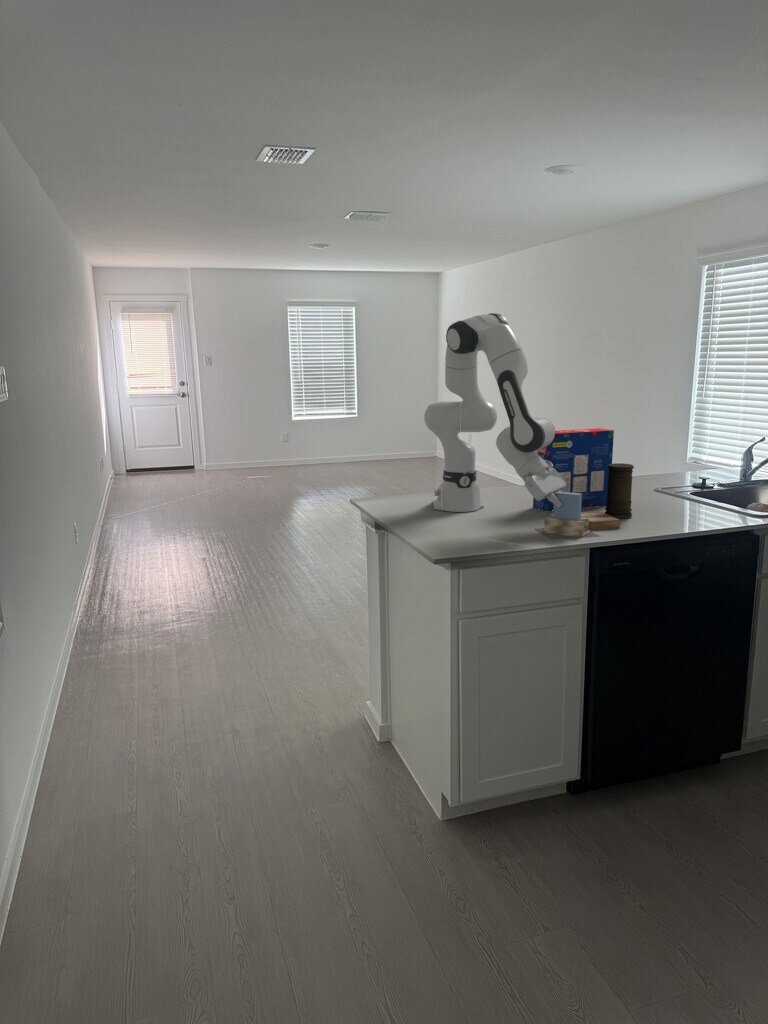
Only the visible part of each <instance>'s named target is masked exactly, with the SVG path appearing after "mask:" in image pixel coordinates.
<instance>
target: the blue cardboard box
mask: <svg viewBox="0 0 768 1024" xmlns="http://www.w3.org/2000/svg"><path fill="white" fill-rule="evenodd" d="M614 435H615V429H608V428H600V427H598V428H581V429H567V430H566V429H564V430H563V429H561V430H555V437H554V439H553V441H552V442H551V443H550V444H549V445H548V446H546V447H544V448H543V449H541V450H539V451H538V455H539V456H540V457H541V458H542V459H544V460H546V461H550V462H551V463H552V464H553V467H552V468H554V469H555V470H556V471H557V472H558V473H559V474H560V476H561V477H562V478H563V480H564V481H565V483H566V487H565V488H564V489H563V490H561V492H568V493H580V494H582V503H581V509H584V508H583V507H590V508H596V506H600V507H606V503H607V502H606V500H607V490H608V476H609V468H608V465H609V464H613V455H614V454H613V453H614ZM532 497H533V496H532ZM532 500H533V501H532V509H535V508H536V510H538V509H540V510H539V511H541V510H543V511H542V512H544V511H551V512H553V511H552V510H553V506H554V503H552V502H551V501H549V500H548V499H547V498H545V499H542V500H540V501H537V500H536V499H535V498H534V497H533V498H532Z"/></svg>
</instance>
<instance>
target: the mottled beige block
mask: <svg viewBox="0 0 768 1024" xmlns="http://www.w3.org/2000/svg"><path fill="white" fill-rule="evenodd" d="M588 524H589V518H581V521H574V520H565V519H557V518H553V513H552V514H550V516H549V517H548V516H547V517H546V516H545V517H544V527H543V528H544V530H542V532H544V533H552V534H560V535H567V536H575V537H584V536H586V535H587V534H589V533H590V531H591V530H589V529H588ZM588 530H589V531H588ZM584 538H585V537H584Z"/></svg>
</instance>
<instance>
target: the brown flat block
mask: <svg viewBox="0 0 768 1024" xmlns="http://www.w3.org/2000/svg"><path fill="white" fill-rule="evenodd" d="M581 518H589V524H588V530H589V531H598V530H599V531H600V530H615V529H620V528H621V519H617V518H614V517H612V516H610V515H607V514H605V512H602V511H601V510H593V511H592V510H591V511H581Z"/></svg>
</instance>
